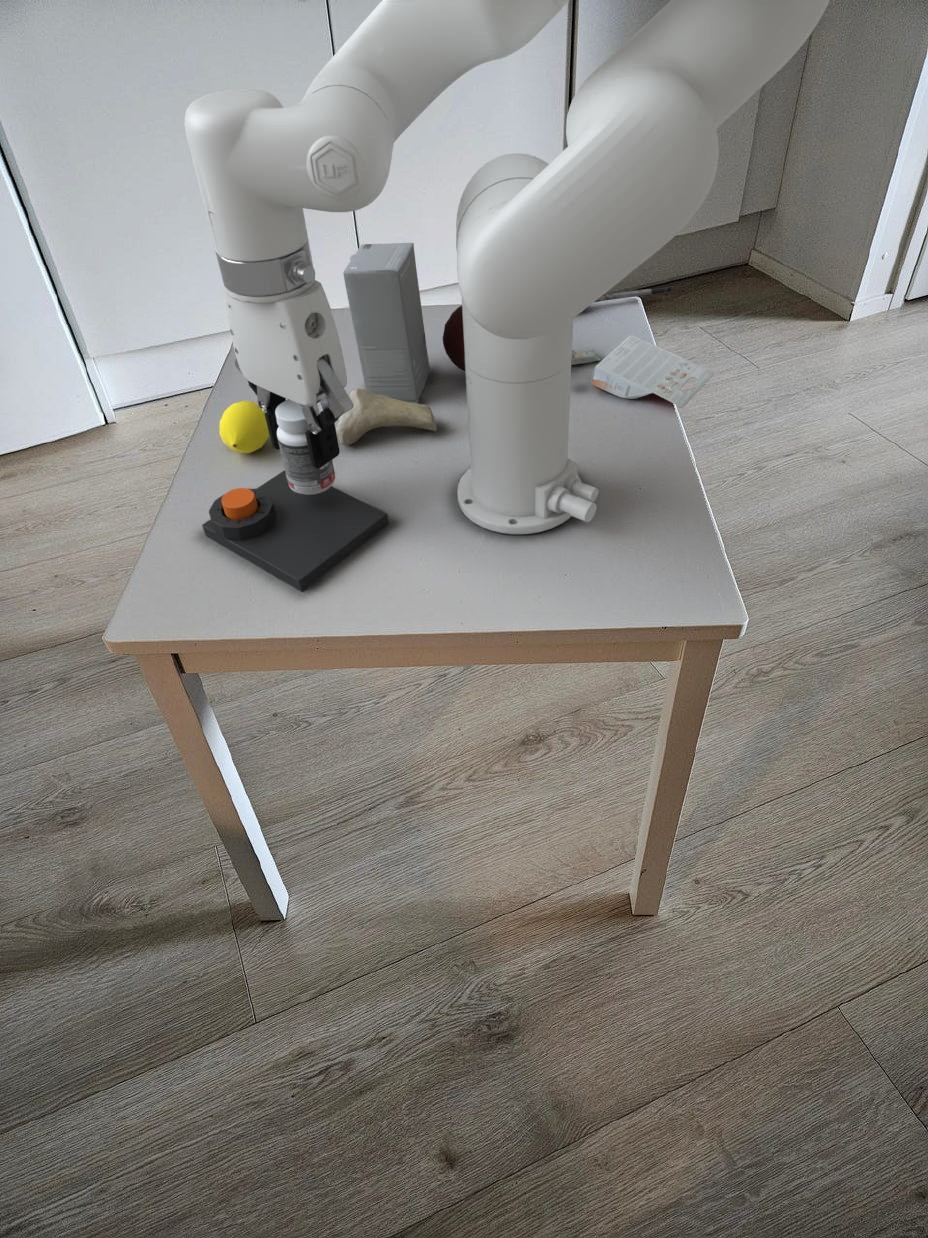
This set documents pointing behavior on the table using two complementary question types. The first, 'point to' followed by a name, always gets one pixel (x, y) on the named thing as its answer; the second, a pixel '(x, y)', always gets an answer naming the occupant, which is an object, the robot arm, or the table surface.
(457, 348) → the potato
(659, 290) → the screwdriver
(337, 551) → the scale
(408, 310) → the cosmetic box
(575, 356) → the granola bar
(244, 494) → the button
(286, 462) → the pill bottle
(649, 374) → the ink box
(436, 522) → the table surface
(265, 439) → the lemon
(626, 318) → the table surface
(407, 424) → the cream lumpy piece
